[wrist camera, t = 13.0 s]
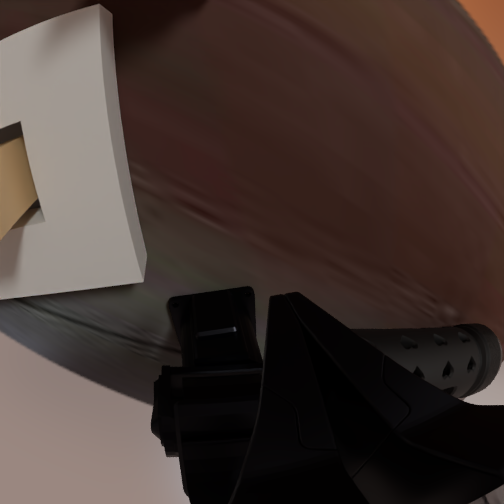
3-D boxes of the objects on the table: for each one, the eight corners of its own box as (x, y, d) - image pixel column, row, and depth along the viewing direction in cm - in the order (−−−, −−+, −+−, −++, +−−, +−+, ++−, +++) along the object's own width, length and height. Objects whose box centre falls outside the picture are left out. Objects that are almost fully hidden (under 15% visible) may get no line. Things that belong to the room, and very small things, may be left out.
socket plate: (147, 255, 21) (143, 281, 18) (-21, 280, 18) (-35, 303, 16) (112, 14, 12) (99, 3, 10) (-74, 98, 10) (-99, 107, 7)
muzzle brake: (311, 294, 26) (363, 394, 17) (476, 305, 35) (519, 354, 26) (275, 365, 30) (304, 455, 22) (441, 353, 39) (475, 403, 31)
